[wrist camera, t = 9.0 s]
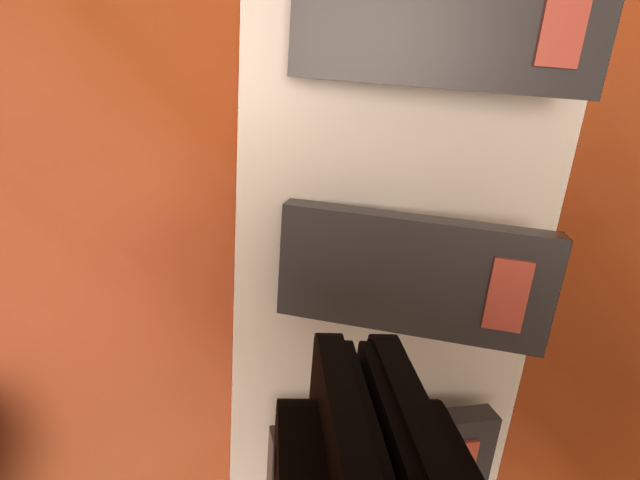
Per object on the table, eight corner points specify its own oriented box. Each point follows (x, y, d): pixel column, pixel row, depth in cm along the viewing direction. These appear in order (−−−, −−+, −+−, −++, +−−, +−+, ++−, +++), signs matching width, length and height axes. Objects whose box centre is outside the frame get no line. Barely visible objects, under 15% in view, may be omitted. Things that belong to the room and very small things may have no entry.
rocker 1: (617, -48, 13) (642, -60, 12) (582, 100, 15) (601, 101, 14) (298, -72, 14) (295, -86, 12) (290, 76, 15) (286, 76, 14)
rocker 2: (563, 232, 15) (574, 242, 14) (536, 343, 16) (544, 360, 15) (290, 197, 17) (281, 205, 16) (284, 301, 18) (275, 314, 17)
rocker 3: (487, 403, 20) (504, 422, 18) (470, 480, 21) (485, 502, 20) (269, 425, 17) (273, 448, 16) (264, 510, 19) (268, 537, 17)
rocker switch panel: (597, -170, 17) (690, -241, 13) (456, 499, 26) (487, 568, 22) (251, -224, 15) (245, -320, 12) (232, 504, 25) (226, 580, 21)
